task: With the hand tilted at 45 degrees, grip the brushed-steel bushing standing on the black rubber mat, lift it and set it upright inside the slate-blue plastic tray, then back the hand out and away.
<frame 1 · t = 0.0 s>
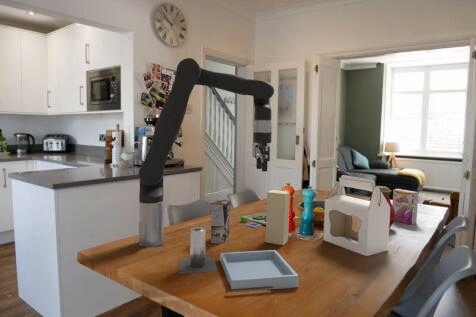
hand: (261, 170, 144), 29 cm above the table, tool pointing down, fingers open, 8 cm apart
candy bar box: (403, 222, 178), on the table
coffee box: (220, 240, 143), on the table
mat: (197, 267, 114), on the table
tray: (256, 274, 110), on the table
bottle: (378, 228, 166), on the table
beige rectangular block: (277, 242, 143), on the table
bushing: (197, 264, 114), point 1 cm above the table, touching mat
gable box: (354, 245, 140), on the table
shape sorter: (270, 221, 177), on the table
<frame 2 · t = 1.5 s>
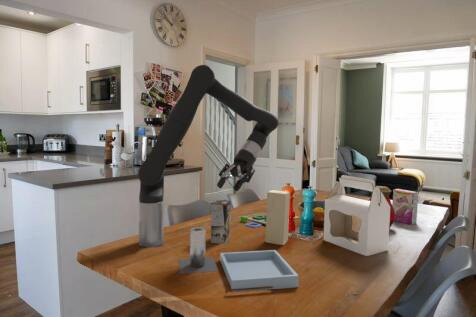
hand: (226, 188, 125), 25 cm above the table, tool tilted 45°, fingers open, 8 cm apart
nothing on the table moved.
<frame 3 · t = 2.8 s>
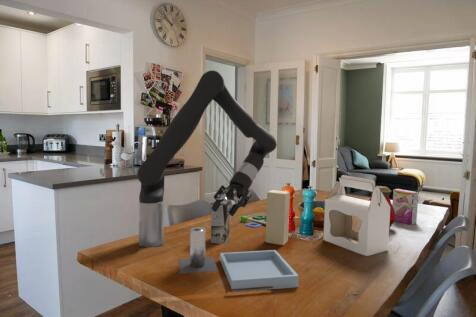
hand: (221, 212, 121), 17 cm above the table, tool tilted 45°, fingers open, 8 cm apart
nothing on the table moved.
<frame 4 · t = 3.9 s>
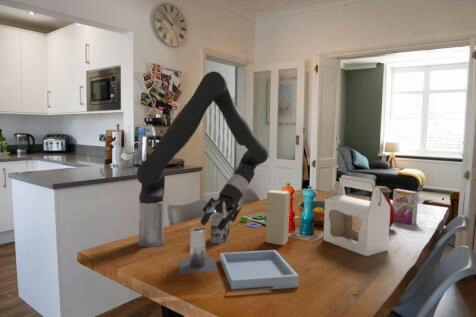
hand: (210, 226, 117), 13 cm above the table, tool tilted 45°, fingers open, 8 cm apart
nothing on the table moved.
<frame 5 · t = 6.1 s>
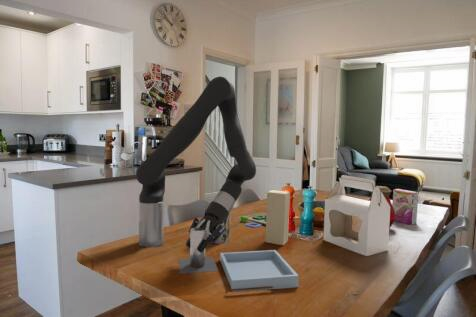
hand: (193, 248, 112), 7 cm above the table, tool tilted 45°, fingers closed on bushing, 5 cm apart
bushing: (197, 264, 114), point 1 cm above the table, touching gripper, mat
everything else where it was.
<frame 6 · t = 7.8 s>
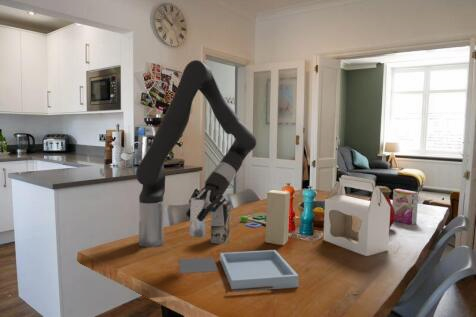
hand: (193, 217, 112), 17 cm above the table, tool tilted 45°, fingers closed on bushing, 5 cm apart
bushing: (197, 234, 114), point 11 cm above the table, touching gripper
everything else where it was.
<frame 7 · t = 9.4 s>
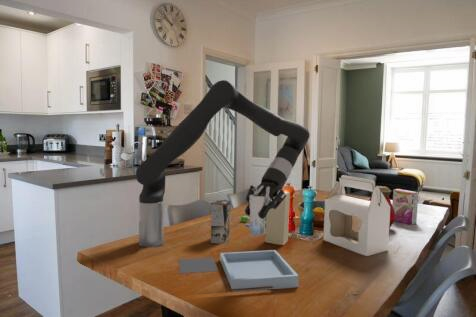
hand: (253, 215, 107), 19 cm above the table, tool tilted 45°, fingers closed on bushing, 5 cm apart
bushing: (257, 232, 109), point 13 cm above the table, touching gripper
everything else where it was.
when the fingers open (8 cm above the table, at t = 11.9 s): bushing drops 1 cm, resting on tray.
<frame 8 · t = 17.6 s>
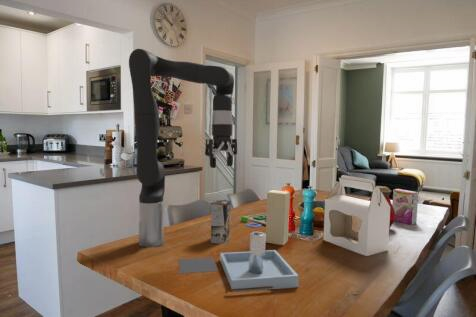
hand: (221, 166, 128), 32 cm above the table, tool pointing down, fingers open, 8 cm apart
bushing: (256, 270, 110), point 1 cm above the table, touching tray
everything else where it was.
at the end: bushing inside the target area on the tray (0.2 cm from its centre), point 1.1 cm above the tray's base; bushing tilted 2°; the gripper is holding nothing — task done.
